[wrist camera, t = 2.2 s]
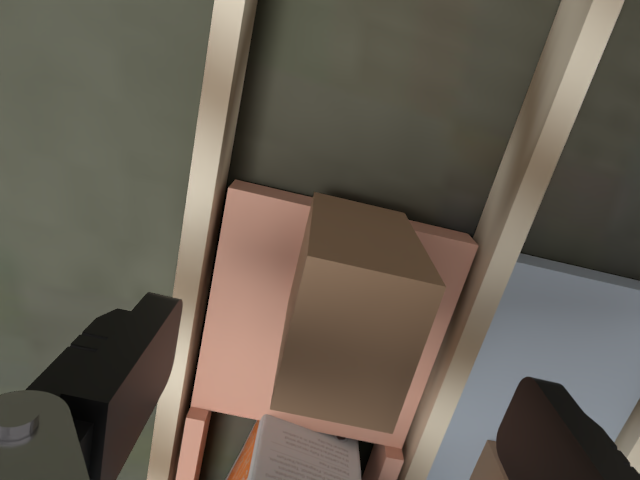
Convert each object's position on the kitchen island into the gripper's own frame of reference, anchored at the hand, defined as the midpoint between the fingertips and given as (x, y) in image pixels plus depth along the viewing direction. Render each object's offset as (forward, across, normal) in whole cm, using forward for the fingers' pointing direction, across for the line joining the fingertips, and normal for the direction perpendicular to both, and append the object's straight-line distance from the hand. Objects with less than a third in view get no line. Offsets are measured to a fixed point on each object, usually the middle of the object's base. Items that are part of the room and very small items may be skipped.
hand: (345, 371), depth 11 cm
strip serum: (+7, 0, +5) cm, 8 cm away
